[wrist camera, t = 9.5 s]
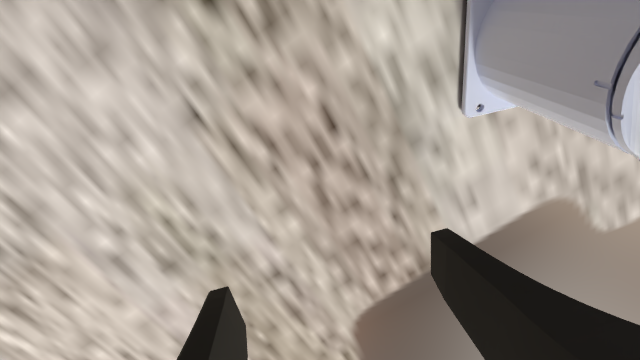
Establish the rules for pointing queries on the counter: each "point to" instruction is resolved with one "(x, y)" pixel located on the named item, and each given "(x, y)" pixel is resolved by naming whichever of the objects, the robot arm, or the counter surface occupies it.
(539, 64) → the robot arm
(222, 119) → the counter surface
